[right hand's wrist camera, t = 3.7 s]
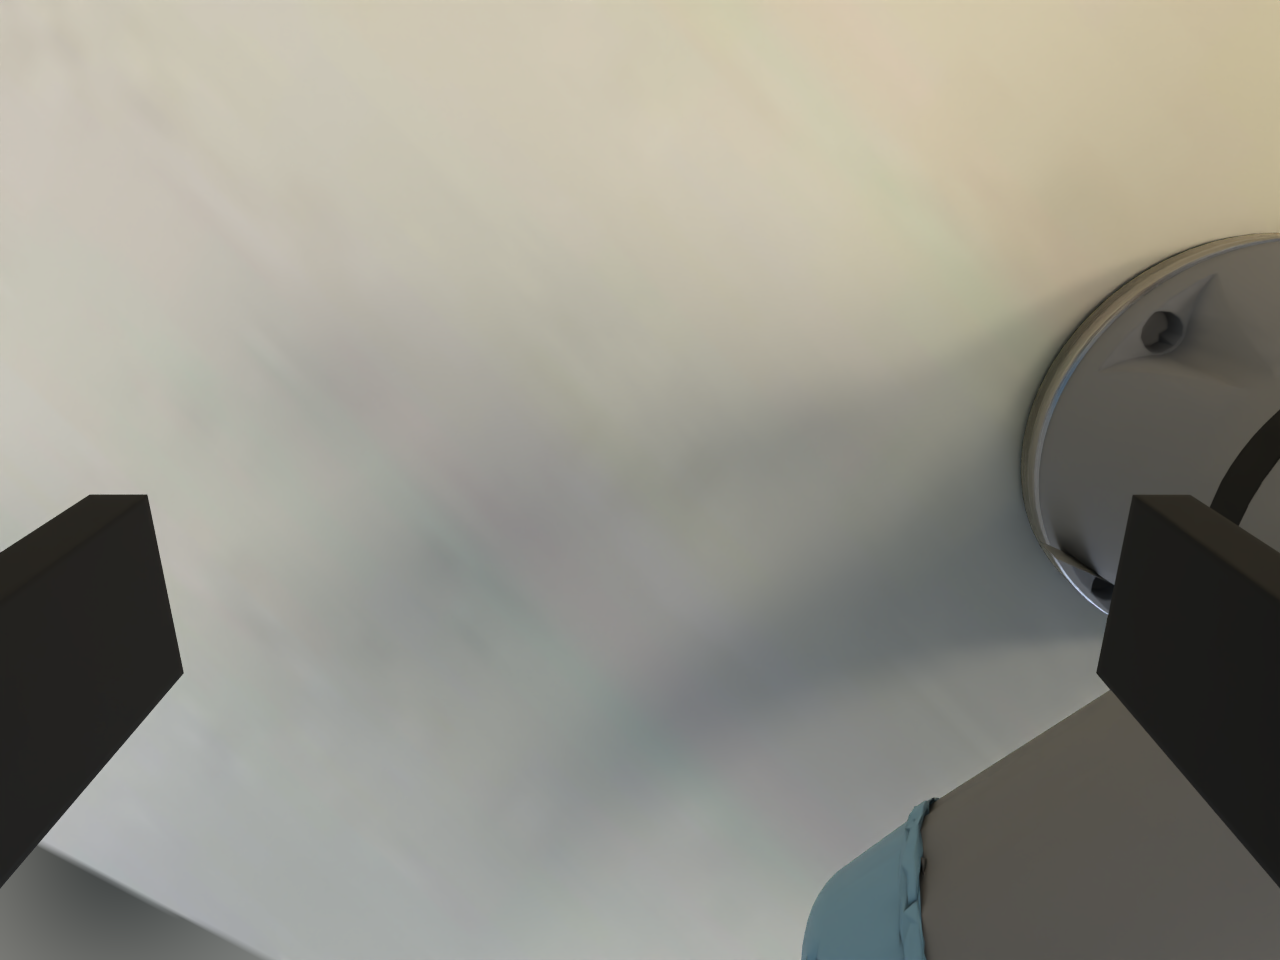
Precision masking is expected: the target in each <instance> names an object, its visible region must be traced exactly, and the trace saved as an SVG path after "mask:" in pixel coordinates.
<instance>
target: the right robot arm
mask: <svg viewBox="0 0 1280 960" xmlns="http://www.w3.org/2000/svg"><path fill="white" fill-rule="evenodd" d="M1021 484H1022V493H1023V499H1024V504H1025V508H1026V513H1027V516H1028V519H1029V522H1030V524H1031V527H1032V530H1033V532H1034V534H1035V536H1036V538H1037V540H1038V542H1039V544H1040V546H1041V548H1042V549H1043V551H1044V552H1045V554H1046V555H1047V557H1048V559H1049V560H1050V561H1051V562H1052V563H1053V565H1054V566H1055V567H1056V568H1057V569H1058V571H1059V572H1060V573H1061V574H1062V575H1063V576H1064V577H1065V578H1066V579H1067V580H1068V581H1069V582H1070V583H1071V584H1072V585H1073V586H1074V587H1075V588H1076V589H1077V590H1078V591H1079V592H1080V593H1081V594H1082V595H1083V596H1084V597H1085V598H1086V599H1087V600H1088V601H1089V602H1091V603H1092V604H1093V605H1095V606H1096V607H1097V608H1099V609H1100V610H1101V611H1103V612H1105V613H1106V614H1108V618H1107V623H1106V628H1105V633H1104V638H1103V643H1102V648H1101V653H1100V658H1099V663H1098V667H1097V672H1096V673H1097V674H1098V676H1099V677H1100V678H1101V679H1102V680H1103V681H1104V683H1105V684H1106V685H1107V686H1108V687H1109V689H1110V690H1109V691H1108V692H1106V693H1105V694H1103V695H1102V696H1100V697H1098V698H1097V699H1095V700H1094V701H1092V702H1091V703H1089V704H1087V705H1086V706H1084V707H1083V708H1081V709H1080V710H1078V711H1076V712H1075V713H1073V714H1072V715H1070V716H1069V717H1067V718H1066V719H1064V720H1062V721H1061V722H1059V723H1058V724H1056V725H1055V726H1053V727H1051V728H1050V729H1048V730H1047V731H1045V732H1044V733H1042V734H1040V735H1039V736H1037V737H1036V738H1034V739H1033V740H1031V741H1029V742H1028V743H1026V744H1025V745H1023V746H1022V747H1020V748H1018V749H1017V750H1015V751H1014V752H1012V753H1011V754H1009V755H1008V756H1006V757H1004V758H1003V759H1001V760H1000V761H998V762H997V763H995V764H993V765H992V766H990V767H989V768H987V769H986V770H984V771H982V772H981V773H979V774H978V775H976V776H975V777H973V778H971V779H970V780H968V781H967V782H965V783H964V784H962V785H960V786H959V787H957V788H956V789H954V790H953V791H951V792H950V793H948V794H946V795H945V796H943V797H942V798H940V799H939V798H932V799H930V800H928V801H924V802H922V803H921V804H919V805H918V806H915V807H914V808H913V810H912V812H911V813H910V815H909V818H908V821H907V822H905V823H904V824H903V825H901V826H900V827H899V828H897V829H896V830H894V831H893V832H892V833H890V834H889V835H887V836H886V837H885V838H883V839H882V840H881V841H879V842H878V843H876V844H875V845H874V846H872V847H871V848H869V849H868V850H867V851H865V852H864V853H863V854H861V855H860V856H858V857H857V858H856V859H854V860H853V861H851V862H850V863H849V864H847V865H846V866H845V867H843V868H842V869H840V870H839V871H838V872H837V873H836V874H835V875H834V876H833V877H832V878H831V879H830V880H829V881H828V882H827V883H826V885H825V886H824V888H823V889H822V890H821V892H820V893H819V895H818V897H817V899H816V900H815V902H814V905H813V907H812V909H811V912H810V915H809V918H808V921H807V926H806V930H805V935H804V940H803V946H802V959H801V960H1280V233H1264V234H1251V235H1244V236H1237V237H1231V238H1227V239H1223V240H1218V241H1214V242H1210V243H1207V244H1204V245H1201V246H1198V247H1195V248H1192V249H1190V250H1187V251H1185V252H1182V253H1180V254H1178V255H1176V256H1173V257H1171V258H1169V259H1166V260H1165V261H1163V262H1161V263H1159V264H1157V265H1155V266H1154V267H1152V268H1150V269H1148V270H1146V271H1145V272H1143V273H1142V274H1140V275H1139V276H1137V277H1136V278H1134V279H1133V280H1131V281H1130V282H1128V283H1127V284H1125V285H1124V286H1123V287H1121V288H1120V289H1119V290H1118V291H1116V292H1115V293H1114V294H1112V295H1111V296H1110V297H1109V298H1108V299H1106V300H1105V301H1104V302H1103V303H1102V304H1101V305H1100V306H1099V307H1098V308H1097V309H1096V310H1095V311H1093V312H1092V313H1091V314H1090V316H1089V317H1088V318H1087V319H1086V320H1085V321H1084V322H1083V323H1082V324H1081V325H1080V326H1079V328H1078V329H1077V330H1076V331H1075V332H1074V334H1073V335H1072V336H1071V337H1070V339H1069V340H1068V341H1067V343H1066V344H1065V345H1064V346H1063V348H1062V349H1061V351H1060V352H1059V354H1058V356H1057V357H1056V359H1055V360H1054V362H1053V363H1052V365H1051V366H1050V368H1049V370H1048V372H1047V374H1046V376H1045V378H1044V380H1043V382H1042V384H1041V386H1040V388H1039V390H1038V393H1037V395H1036V398H1035V400H1034V402H1033V405H1032V408H1031V412H1030V415H1029V418H1028V421H1027V425H1026V430H1025V435H1024V440H1023V447H1022V456H1021ZM183 673H184V672H183V667H182V663H181V658H180V653H179V648H178V643H177V638H176V633H175V628H174V623H173V618H172V614H171V609H170V604H169V599H168V594H167V589H166V584H165V579H164V574H163V569H162V564H161V560H160V555H159V550H158V545H157V540H156V535H155V530H154V525H153V520H152V515H151V510H150V506H149V501H148V496H147V495H89V496H87V497H85V498H84V499H82V500H81V501H79V502H78V503H76V504H75V505H73V506H72V507H70V508H68V509H67V510H65V511H64V512H62V513H61V514H59V515H58V516H56V517H55V518H53V519H52V520H50V521H48V522H47V523H45V524H44V525H42V526H41V527H39V528H38V529H36V530H35V531H33V532H32V533H30V534H28V535H27V536H25V537H24V538H22V539H21V540H19V541H18V542H16V543H15V544H13V545H11V546H10V547H8V548H7V549H5V550H4V551H2V552H1V553H0V888H1V887H2V886H3V884H4V883H5V882H6V881H7V880H8V879H9V877H10V876H11V875H12V874H13V873H14V872H15V870H16V869H17V868H18V867H19V866H20V865H21V863H22V862H23V861H24V860H25V859H26V857H27V856H28V855H29V854H30V853H31V852H32V850H33V849H34V848H35V847H36V846H37V845H38V843H39V842H40V841H41V840H42V839H43V838H44V836H45V835H46V834H47V833H48V832H49V831H50V829H51V828H52V827H53V826H54V825H55V823H56V822H57V821H58V820H59V819H60V818H61V816H62V815H63V814H64V813H65V812H66V811H67V809H68V808H69V807H70V806H71V805H72V804H73V802H74V801H75V800H76V799H77V798H78V796H79V795H80V794H81V793H82V792H83V791H84V789H85V788H86V787H87V786H88V785H89V784H90V782H91V781H92V780H93V779H94V778H95V777H96V775H97V774H98V773H99V772H100V771H101V769H102V768H103V767H104V766H105V765H106V764H107V762H108V761H109V760H110V759H111V758H112V757H113V755H114V754H115V753H116V752H117V751H118V750H119V748H120V747H121V746H122V745H123V744H124V743H125V741H126V740H127V739H128V738H129V737H130V735H131V734H132V733H133V732H134V731H135V730H136V728H137V727H138V726H139V725H140V724H141V723H142V721H143V720H144V719H145V718H146V717H147V716H148V714H149V713H150V712H151V711H152V710H153V708H154V707H155V706H156V705H157V704H158V703H159V701H160V700H161V699H162V698H163V697H164V696H165V694H166V693H167V692H168V691H169V690H170V689H171V687H172V686H173V685H174V684H175V683H176V681H177V680H178V679H179V678H180V677H181V676H182V674H183Z"/></svg>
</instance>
